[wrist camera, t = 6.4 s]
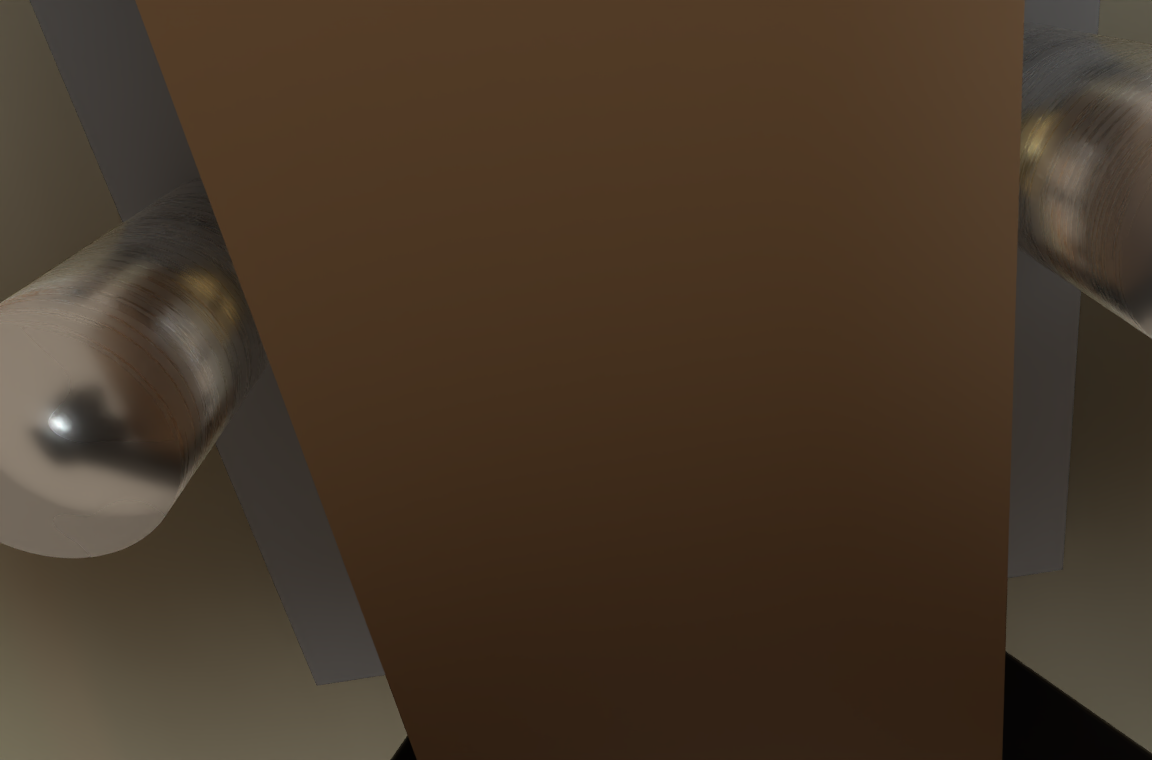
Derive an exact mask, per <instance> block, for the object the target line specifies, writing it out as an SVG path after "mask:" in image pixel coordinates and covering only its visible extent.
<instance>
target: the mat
mask: <svg viewBox="0 0 1152 760" xmlns="http://www.w3.org/2000/svg"><path fill="white" fill-rule="evenodd" d="M30 2H31V5H32V7H33V9H34V12H35V14H36V17H37V19H38V21H39V24H40V26H41V29H42V31H43V33H44V36H45V38H46V41H47V43H48V45H49V48H50V50H51V52H52V55H53V57H54V60H55V62H56V64H57V67H58V69H59V72H60V74H61V76H62V79H63V81H64V83H65V86H66V88H67V91H68V93H69V95H70V98H71V100H72V103H73V105H74V107H75V110H76V112H77V115H78V117H79V119H80V122H81V124H82V126H83V129H84V131H85V134H86V136H87V138H88V141H89V143H90V146H91V148H92V150H93V153H94V155H95V157H96V160H97V162H98V165H99V167H100V169H101V172H102V174H103V177H104V179H105V181H106V184H107V186H108V189H109V191H110V193H111V196H112V198H113V200H114V203H115V205H116V208H117V210H118V212H119V215H120V217H121V220H122V222H125V221H126V220H128V219H129V218H131V217H132V216H134V215H135V214H137V213H138V212H140V211H142V210H143V209H145V208H146V207H148V206H149V205H151V204H152V203H154V202H155V201H157V200H158V199H160V198H161V197H163V196H164V195H166V194H168V193H169V192H171V191H172V190H174V189H175V188H177V187H178V186H180V185H182V184H183V183H186V182H188V181H190V180H193V179H196V178H200V174H199V171H198V168H197V166H196V163H195V160H194V158H193V155H192V152H191V150H190V147H189V144H188V142H187V139H186V136H185V133H184V131H183V128H182V125H181V123H180V120H179V117H178V115H177V112H176V109H175V106H174V104H173V101H172V98H171V96H170V93H169V90H168V88H167V85H166V82H165V80H164V77H163V74H162V71H161V69H160V66H159V63H158V61H157V58H156V55H155V53H154V50H153V47H152V44H151V42H150V39H149V36H148V34H147V31H146V28H145V26H144V23H143V20H142V18H141V15H140V12H139V9H138V7H137V4H136V1H135V0H30ZM1099 9H1100V0H1025V7H1024V22H1029V23H1035V24H1040V25H1046V26H1051V27H1057V28H1063V29H1068V30H1074V31H1079V32H1085V33H1090V34H1096V35H1098V24H1099ZM1080 299H1081V291H1080V290H1079V289H1077V288H1076V287H1074V286H1073V285H1071V284H1070V283H1068V282H1067V281H1065V280H1064V279H1062V278H1061V277H1059V276H1058V275H1057V274H1055V273H1054V272H1052V271H1051V270H1049V269H1048V268H1046V267H1045V266H1043V265H1042V264H1040V263H1039V262H1037V261H1036V260H1034V259H1033V258H1031V257H1030V256H1028V255H1027V254H1025V253H1024V252H1022V251H1021V250H1019V249H1018V248H1017V276H1016V310H1015V343H1014V377H1013V411H1012V445H1011V478H1010V512H1009V546H1008V578H1012V577H1018V576H1025V575H1031V574H1038V573H1044V572H1051V571H1057V570H1063V559H1064V543H1065V528H1066V513H1067V498H1068V482H1069V467H1070V452H1071V436H1072V421H1073V406H1074V391H1075V375H1076V360H1077V345H1078V330H1079V314H1080ZM215 444H216V446H217V449H218V451H219V453H220V456H221V458H222V461H223V463H224V465H225V468H226V470H227V473H228V475H229V477H230V480H231V482H232V485H233V487H234V489H235V492H236V494H237V496H238V499H239V501H240V504H241V506H242V508H243V511H244V513H245V516H246V518H247V520H248V523H249V525H250V527H251V530H252V532H253V535H254V537H255V539H256V542H257V544H258V547H259V549H260V551H261V554H262V556H263V559H264V561H265V563H266V566H267V568H268V570H269V573H270V575H271V578H272V580H273V582H274V585H275V587H276V590H277V592H278V594H279V597H280V599H281V601H282V604H283V606H284V609H285V611H286V613H287V616H288V618H289V621H290V623H291V625H292V628H293V630H294V632H295V635H296V637H297V640H298V642H299V644H300V647H301V649H302V652H303V654H304V656H305V659H306V661H307V664H308V666H309V668H310V671H311V673H312V675H313V678H314V680H315V683H316V685H324V684H330V683H336V682H343V681H349V680H356V679H362V678H369V677H375V676H381V675H385V673H384V670H383V667H382V664H381V662H380V659H379V656H378V654H377V651H376V648H375V646H374V643H373V640H372V638H371V635H370V632H369V629H368V627H367V624H366V621H365V619H364V616H363V613H362V611H361V608H360V605H359V602H358V600H357V597H356V594H355V592H354V589H353V586H352V584H351V581H350V578H349V576H348V573H347V570H346V567H345V565H344V562H343V559H342V557H341V554H340V551H339V549H338V546H337V543H336V540H335V538H334V535H333V532H332V530H331V527H330V524H329V522H328V519H327V516H326V514H325V511H324V508H323V505H322V503H321V500H320V497H319V495H318V492H317V489H316V487H315V484H314V481H313V478H312V476H311V473H310V470H309V468H308V465H307V462H306V460H305V457H304V454H303V452H302V449H301V446H300V443H299V441H298V438H297V435H296V433H295V430H294V427H293V425H292V422H291V419H290V416H289V414H288V411H287V408H286V406H285V403H284V400H283V398H282V395H281V392H280V390H279V387H278V384H277V381H276V379H275V376H274V373H273V371H272V368H271V365H270V363H269V364H268V366H267V367H266V369H265V370H264V372H263V373H262V375H261V376H260V378H259V379H258V381H257V382H256V384H255V385H254V387H253V388H252V389H251V391H250V392H249V394H248V395H247V397H246V398H245V400H244V401H243V403H242V404H241V406H240V407H239V409H238V410H237V412H236V413H235V414H234V416H233V417H232V419H231V420H230V422H229V423H228V425H227V426H226V428H225V429H224V431H223V432H222V434H221V435H220V437H219V438H218V440H217V441H216V442H215Z"/></svg>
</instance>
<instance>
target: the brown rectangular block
mask: <svg viewBox="0 0 1152 760" xmlns="http://www.w3.org/2000/svg"><path fill="white" fill-rule="evenodd" d="M135 1H136V4H137V7H138V9H139V12H140V15H141V18H142V20H143V23H144V26H145V28H146V31H147V34H148V36H149V39H150V42H151V44H152V47H153V50H154V53H155V55H156V58H157V61H158V63H159V66H160V69H161V71H162V74H163V77H164V80H165V82H166V85H167V88H168V90H169V93H170V96H171V98H172V101H173V104H174V106H175V109H176V112H177V115H178V117H179V120H180V123H181V125H182V128H183V131H184V133H185V136H186V139H187V142H188V144H189V147H190V150H191V152H192V155H193V158H194V160H195V163H196V166H197V168H198V171H199V174H200V177H201V179H202V182H203V185H204V187H205V190H206V193H207V195H208V198H209V201H210V204H211V206H212V209H213V212H214V214H215V217H216V220H217V222H218V225H219V228H220V230H221V233H222V236H223V239H224V241H225V244H226V247H227V249H228V252H229V255H230V257H231V260H232V263H233V266H234V268H235V271H236V274H237V276H238V279H239V282H240V284H241V287H242V290H243V292H244V295H245V298H246V301H247V303H248V306H249V309H250V311H251V314H252V317H253V319H254V322H255V325H256V328H257V330H258V333H259V336H260V338H261V341H262V344H263V346H264V349H265V352H266V354H267V357H268V360H269V363H270V365H271V368H272V371H273V373H274V376H275V379H276V381H277V384H278V387H279V390H280V392H281V395H282V398H283V400H284V403H285V406H286V408H287V411H288V414H289V416H290V419H291V422H292V425H293V427H294V430H295V433H296V435H297V438H298V441H299V443H300V446H301V449H302V452H303V454H304V457H305V460H306V462H307V465H308V468H309V470H310V473H311V476H312V478H313V481H314V484H315V487H316V489H317V492H318V495H319V497H320V500H321V503H322V505H323V508H324V511H325V514H326V516H327V519H328V522H329V524H330V527H331V530H332V532H333V535H334V538H335V540H336V543H337V546H338V549H339V551H340V554H341V557H342V559H343V562H344V565H345V567H346V570H347V573H348V576H349V578H350V581H351V584H352V586H353V589H354V592H355V594H356V597H357V600H358V602H359V605H360V608H361V611H362V613H363V616H364V619H365V621H366V624H367V627H368V629H369V632H370V635H371V638H372V640H373V643H374V646H375V648H376V651H377V654H378V656H379V659H380V662H381V664H382V667H383V670H384V673H385V675H386V678H387V681H388V683H389V686H390V689H391V691H392V694H393V697H394V700H395V702H396V705H397V708H398V710H399V713H400V716H401V718H402V721H403V724H404V726H405V729H406V732H407V735H408V737H409V740H410V743H411V745H412V748H413V751H414V753H415V756H416V759H417V760H1002V748H1003V714H1004V680H1005V647H1006V613H1007V579H1008V546H1009V512H1010V478H1011V445H1012V411H1013V377H1014V343H1015V310H1016V276H1017V242H1018V209H1019V175H1020V141H1021V108H1022V74H1023V40H1024V7H1025V0H135Z"/></svg>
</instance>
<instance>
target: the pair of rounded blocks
mask: <svg viewBox="0 0 1152 760" xmlns="http://www.w3.org/2000/svg"><path fill="white" fill-rule="evenodd" d="M1017 248H1018V249H1019V250H1021V251H1022V252H1024V253H1025V254H1027V255H1028V256H1030V257H1031V258H1033V259H1034V260H1036V261H1037V262H1039V263H1040V264H1042V265H1043V266H1045V267H1046V268H1048V269H1049V270H1051V271H1052V272H1054V273H1055V274H1057V275H1058V276H1059V277H1061V278H1062V279H1064V280H1065V281H1067V282H1068V283H1070V284H1071V285H1073V286H1074V287H1076V288H1077V289H1079V290H1080V291H1082V292H1083V293H1085V294H1086V295H1088V296H1089V297H1091V298H1092V299H1094V300H1095V301H1096V302H1098V303H1099V304H1101V305H1102V306H1104V307H1105V308H1107V309H1108V310H1110V311H1111V312H1113V313H1114V314H1116V315H1117V316H1119V317H1120V318H1122V319H1123V320H1125V321H1126V322H1128V323H1129V324H1131V325H1132V326H1134V327H1135V328H1136V329H1138V330H1139V331H1141V332H1142V333H1144V334H1145V335H1147V336H1148V337H1150V338H1151V339H1152V44H1146V43H1141V42H1135V41H1129V40H1124V39H1118V38H1113V37H1107V36H1102V35H1096V34H1090V33H1085V32H1079V31H1074V30H1068V29H1063V28H1057V27H1051V26H1046V25H1040V24H1035V23H1029V22H1024V40H1023V74H1022V108H1021V141H1020V175H1019V209H1018V242H1017ZM268 364H269V360H268V357H267V354H266V352H265V349H264V346H263V344H262V341H261V338H260V336H259V333H258V330H257V328H256V325H255V322H254V319H253V317H252V314H251V311H250V309H249V306H248V303H247V301H246V298H245V295H244V292H243V290H242V287H241V284H240V282H239V279H238V276H237V274H236V271H235V268H234V266H233V263H232V260H231V257H230V255H229V252H228V249H227V247H226V244H225V241H224V239H223V236H222V233H221V230H220V228H219V225H218V222H217V220H216V217H215V214H214V212H213V209H212V206H211V204H210V201H209V198H208V195H207V193H206V190H205V187H204V185H203V182H202V179H201V177H200V178H196V179H193V180H190V181H188V182H186V183H183V184H182V185H180V186H178V187H177V188H175V189H174V190H172V191H171V192H169V193H168V194H166V195H164V196H163V197H161V198H160V199H158V200H157V201H155V202H154V203H152V204H151V205H149V206H148V207H146V208H145V209H143V210H142V211H140V212H138V213H137V214H135V215H134V216H132V217H131V218H129V219H128V220H126V221H125V222H123V223H122V224H120V225H119V226H117V227H116V228H114V229H112V230H111V231H109V232H108V233H106V234H105V235H103V236H102V237H100V238H99V239H97V240H96V241H94V242H93V243H91V244H90V245H88V246H86V247H85V248H83V249H82V250H80V251H79V252H77V253H76V254H74V255H73V256H71V257H70V258H68V259H67V260H65V261H64V262H62V263H60V264H59V265H57V266H56V267H54V268H53V269H51V270H50V271H48V272H47V273H45V274H44V275H42V276H41V277H39V278H38V279H36V280H34V281H33V282H31V283H30V284H28V285H27V286H25V287H24V288H22V289H21V290H19V291H18V292H16V293H15V294H13V295H12V296H10V297H8V298H7V299H5V300H4V301H2V302H1V303H0V543H3V544H5V545H8V546H10V547H12V548H16V549H19V550H22V551H26V552H29V553H33V554H38V555H43V556H48V557H58V558H87V557H96V556H101V555H106V554H110V553H114V552H116V551H119V550H122V549H125V548H127V547H129V546H131V545H133V544H135V543H137V542H139V541H140V540H142V539H143V538H144V537H146V536H147V535H148V534H150V533H151V532H152V531H153V530H154V529H155V528H156V527H157V526H158V525H159V524H160V523H161V522H162V520H163V519H164V517H165V516H166V514H167V513H168V512H169V510H170V509H171V507H172V506H173V504H174V503H175V501H176V500H177V498H178V497H179V495H180V494H181V492H182V491H183V490H184V488H185V487H186V485H187V484H188V482H189V481H190V479H191V478H192V476H193V475H194V473H195V472H196V470H197V469H198V467H199V466H200V465H201V463H202V462H203V460H204V459H205V457H206V456H207V454H208V453H209V451H210V450H211V448H212V447H213V445H214V444H215V442H216V441H217V440H218V438H219V437H220V435H221V434H222V432H223V431H224V429H225V428H226V426H227V425H228V423H229V422H230V420H231V419H232V417H233V416H234V414H235V413H236V412H237V410H238V409H239V407H240V406H241V404H242V403H243V401H244V400H245V398H246V397H247V395H248V394H249V392H250V391H251V389H252V388H253V387H254V385H255V384H256V382H257V381H258V379H259V378H260V376H261V375H262V373H263V372H264V370H265V369H266V367H267V366H268Z"/></svg>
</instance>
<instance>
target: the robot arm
mask: <svg viewBox="0 0 1152 760" xmlns="http://www.w3.org/2000/svg"><path fill="white" fill-rule="evenodd" d="M391 760H417V759H416V756H415V753H414V751H413V748H412V745H411V743H410V740H409V737H408V736H407V737H406V738H405V740H404V741H403V743H402V744H401V746H400V747H399V749H398V750H397V751H396V753H395V754H394V756H393V757H392V759H391ZM1002 760H1152V753H1150V752H1149V751H1147V750H1146V749H1145V748H1143V747H1142V746H1140V745H1139V744H1137V743H1136V742H1135V741H1133V740H1132V739H1130V738H1129V737H1127V736H1126V735H1125V734H1123V733H1122V732H1120V731H1119V730H1117V729H1116V728H1114V727H1113V726H1112V725H1110V724H1109V723H1107V722H1106V721H1104V720H1103V719H1102V718H1100V717H1099V716H1097V715H1096V714H1094V713H1093V712H1092V711H1090V710H1089V709H1087V708H1086V707H1084V706H1083V705H1082V704H1080V703H1079V702H1077V701H1076V700H1074V699H1073V698H1072V697H1070V696H1069V695H1067V694H1066V693H1064V692H1063V691H1062V690H1060V689H1059V688H1057V687H1056V686H1054V685H1053V684H1052V683H1050V682H1049V681H1047V680H1046V679H1044V678H1043V677H1042V676H1040V675H1039V674H1037V673H1036V672H1034V671H1033V670H1032V669H1030V668H1029V667H1027V666H1026V665H1024V664H1023V663H1022V662H1020V661H1019V660H1017V659H1016V658H1014V657H1013V656H1012V655H1010V654H1009V653H1007V652H1006V651H1005V680H1004V714H1003V748H1002Z"/></svg>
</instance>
